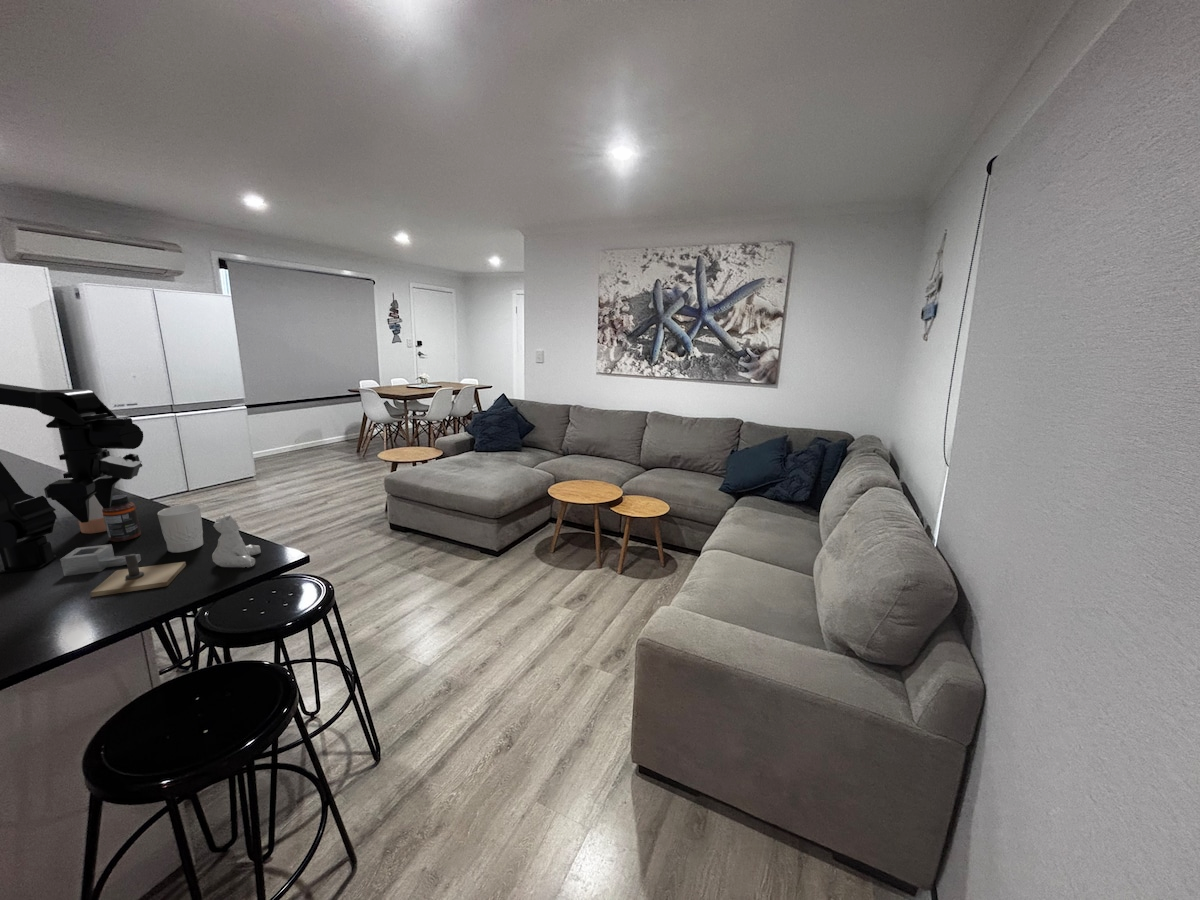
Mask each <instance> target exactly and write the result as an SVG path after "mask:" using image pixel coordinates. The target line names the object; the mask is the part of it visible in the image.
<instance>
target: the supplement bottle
mask: <svg viewBox="0 0 1200 900" xmlns="http://www.w3.org/2000/svg"><path fill="white" fill-rule="evenodd" d="M102 512H103V517H104V521H105V525H106V529H107V531H106V533H107V537H108V539H109V541H111V542H114V543H115V542H116V543H117V542H126V541H130V540H132V539H136V538H138V537H139V536H141V534H142V531H141V527H140V522H139V518H138V513H137V509H136V504H135V503H134V502H132V501H129V498H128V495H127V494H116V495H114V494H113V496H112V501H111V506H110V508H103V509H102Z"/></svg>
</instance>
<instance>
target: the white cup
mask: <svg viewBox="0 0 1200 900" xmlns="http://www.w3.org/2000/svg"><path fill="white" fill-rule="evenodd" d="M201 511H202V510H201V505H199V504H181V505H180V504H179V505H174V506H171V507H167V508H163V509H161V510H159V511H158V512H157V513H156V514H157V517H158V521H159V524H160V525H159V526H160V529H161V532H162V535H163V538H164V541H165V543H166V549H167V551H168V552H170V553H185V552H189V551H193V550H195V549H198V548H201V547H202V546H203V545H204V537H203V536H204V535H203V534H204V531H203V520H202V512H201Z"/></svg>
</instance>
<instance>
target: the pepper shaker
mask: <svg viewBox="0 0 1200 900" xmlns="http://www.w3.org/2000/svg"><path fill="white" fill-rule="evenodd" d="M102 509H103V507H102V506H101V504H100V503H99V502H98V500H97V498H96V497H95V495H93V496H92V497H91V498H90V499H89V522H85V523H82V522H80V521H79V520H78V519H77V521H78V525H79V529H80V530H79V531H80V532H81V533H82V534H96V533H103V532H107V529H106V525H105V521H104V517H103V512H102Z"/></svg>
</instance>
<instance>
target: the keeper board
mask: <svg viewBox="0 0 1200 900" xmlns="http://www.w3.org/2000/svg"><path fill="white" fill-rule="evenodd" d="M125 555H126V554H125ZM125 559H126V563H127V565H126V567H127V568H123V569H117V570H115V571H114V572H113V573H112V574H110V575H109V576H108V577H107V578H105V580H104V581H102V582H101V583H99V585H97V586H96V587H95V588H94V589H93V590H92V591H90V596H91V597H92V598H93V597H99V596H100V597H101V596H107V595H114V594H120V593H121V594H122V593H129V592H136V591H142V590H148V589H149V590H150V589H156V588H163V587H168V586H169V585H171V583H172V582H173V581H174V580H175V578H176V577H177V576H178V575H180V573H181V572H182V571H183V570H184V568H186V566H187V563H186V561H180V562H179V561H178V562H171V563H164V564H155V565H147V566H141V567H139V565H138V564H139V563H137V558H136V553H130V554H127V555H126V556H125Z"/></svg>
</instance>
